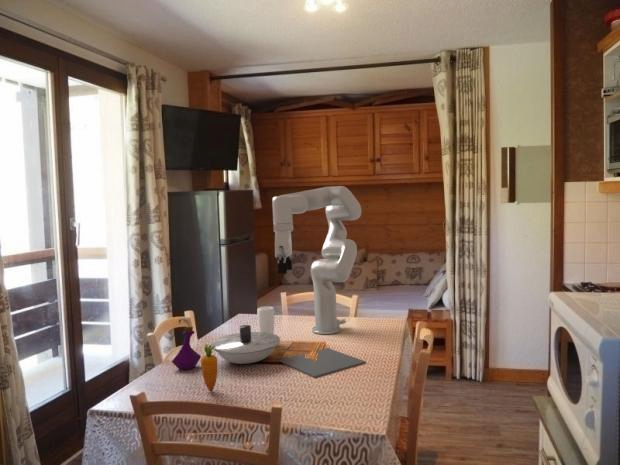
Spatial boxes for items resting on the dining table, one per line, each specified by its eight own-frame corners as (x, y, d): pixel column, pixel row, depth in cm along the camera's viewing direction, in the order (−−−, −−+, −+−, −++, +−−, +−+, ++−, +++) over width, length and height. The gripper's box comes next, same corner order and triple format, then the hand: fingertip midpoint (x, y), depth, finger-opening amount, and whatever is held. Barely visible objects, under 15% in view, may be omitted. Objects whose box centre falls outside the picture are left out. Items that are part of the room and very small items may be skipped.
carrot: (203, 389, 161) (201, 342, 160) (219, 388, 161) (217, 341, 160) (201, 395, 156) (198, 346, 155) (218, 394, 156) (215, 345, 155)
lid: (257, 330, 204) (257, 315, 204) (293, 343, 184) (292, 326, 184) (199, 343, 190) (198, 326, 189) (231, 358, 170) (230, 339, 169)
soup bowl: (253, 376, 171) (252, 356, 170) (199, 366, 183) (198, 348, 183) (291, 355, 191) (291, 338, 191) (241, 348, 204) (240, 331, 203)
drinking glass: (276, 342, 210) (275, 306, 209) (274, 347, 203) (272, 309, 202) (260, 342, 211) (258, 306, 210) (257, 347, 204) (255, 310, 203)
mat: (327, 349, 197) (327, 347, 197) (365, 363, 179) (365, 361, 179) (279, 361, 184) (278, 360, 184) (314, 377, 166) (314, 376, 166)
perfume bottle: (201, 365, 184) (198, 316, 183) (190, 372, 177) (187, 321, 176) (184, 363, 187) (181, 315, 186) (172, 370, 180) (168, 320, 179)
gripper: (279, 226, 207) (281, 268, 208) (268, 229, 190) (270, 275, 191) (297, 226, 206) (299, 268, 207) (288, 229, 189) (290, 274, 190)
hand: (285, 271), depth 199 cm, fingers open, 9 cm apart
